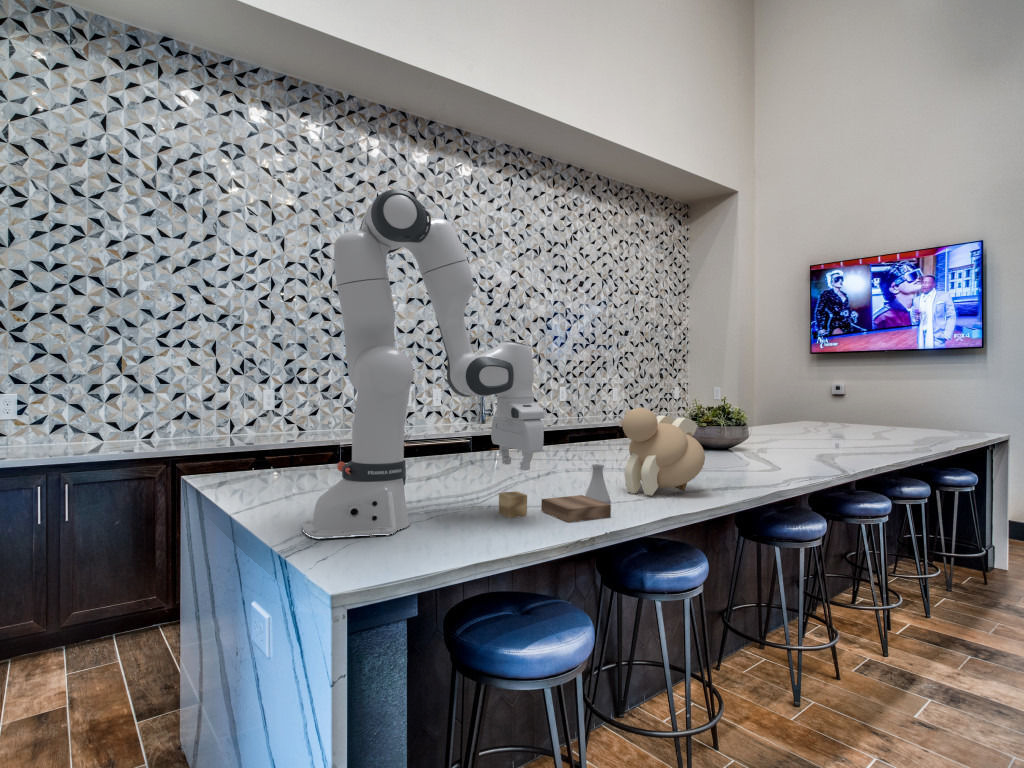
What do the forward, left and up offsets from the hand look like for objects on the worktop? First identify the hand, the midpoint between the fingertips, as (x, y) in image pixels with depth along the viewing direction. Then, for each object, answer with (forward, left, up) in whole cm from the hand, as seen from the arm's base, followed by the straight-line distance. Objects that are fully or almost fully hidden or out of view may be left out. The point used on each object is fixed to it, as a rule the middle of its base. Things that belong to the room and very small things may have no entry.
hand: (515, 467), depth 139 cm
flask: (+26, +3, -12) cm, 29 cm away
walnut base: (+13, -6, -11) cm, 19 cm away
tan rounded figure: (+53, +7, -12) cm, 55 cm away
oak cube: (-1, 0, -12) cm, 12 cm away
